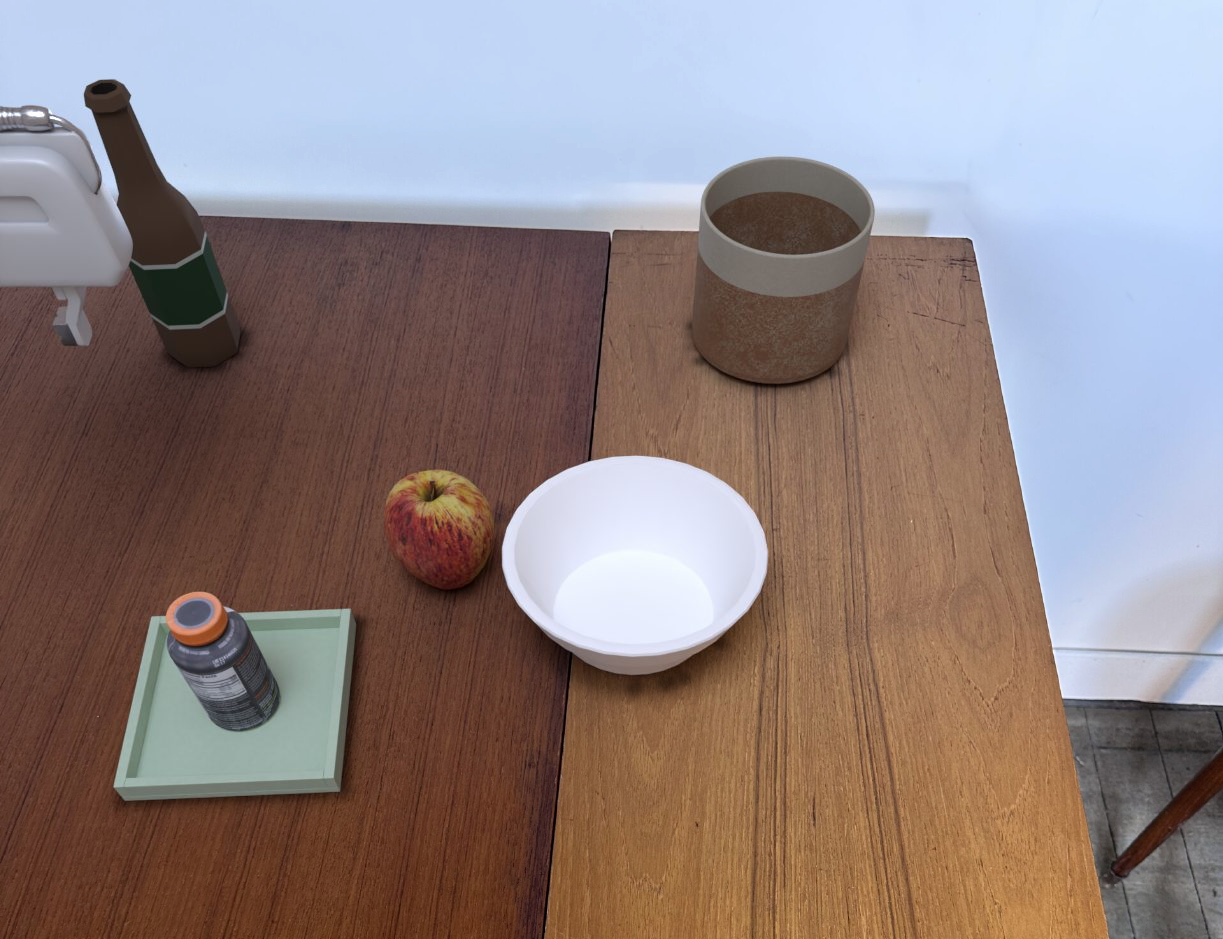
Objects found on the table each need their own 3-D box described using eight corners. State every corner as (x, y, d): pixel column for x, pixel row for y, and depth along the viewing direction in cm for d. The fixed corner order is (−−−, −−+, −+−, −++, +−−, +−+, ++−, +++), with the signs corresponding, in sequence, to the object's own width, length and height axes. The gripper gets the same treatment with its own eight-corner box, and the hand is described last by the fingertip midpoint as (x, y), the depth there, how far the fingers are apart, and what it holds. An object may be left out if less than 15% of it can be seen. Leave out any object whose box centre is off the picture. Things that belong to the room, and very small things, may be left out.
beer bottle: (220, 377, 102) (118, 118, 81) (153, 361, 103) (35, 102, 82) (257, 330, 106) (168, 71, 85) (192, 315, 107) (88, 56, 86)
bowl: (782, 698, 83) (798, 633, 75) (526, 734, 81) (518, 671, 74) (726, 512, 93) (735, 440, 85) (497, 541, 91) (487, 470, 84)
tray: (124, 801, 78) (112, 787, 76) (161, 632, 86) (151, 616, 84) (340, 791, 78) (333, 777, 77) (356, 624, 86) (350, 608, 85)
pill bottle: (245, 662, 84) (195, 566, 74) (297, 695, 82) (253, 602, 72) (191, 710, 82) (132, 618, 72) (244, 746, 80) (191, 657, 70)
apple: (379, 592, 88) (352, 506, 79) (425, 521, 92) (405, 432, 83) (473, 622, 87) (457, 537, 78) (516, 548, 91) (505, 460, 82)
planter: (659, 335, 105) (665, 200, 93) (765, 272, 110) (783, 136, 98) (771, 412, 99) (792, 279, 87) (877, 341, 104) (911, 206, 92)
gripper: (87, 75, 55) (176, 309, 67) (-301, 72, 54) (-140, 310, 66) (61, 139, 52) (160, 372, 64) (-351, 137, 51) (-172, 373, 63)
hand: (4, 340), depth 65 cm, fingers open, 8 cm apart
